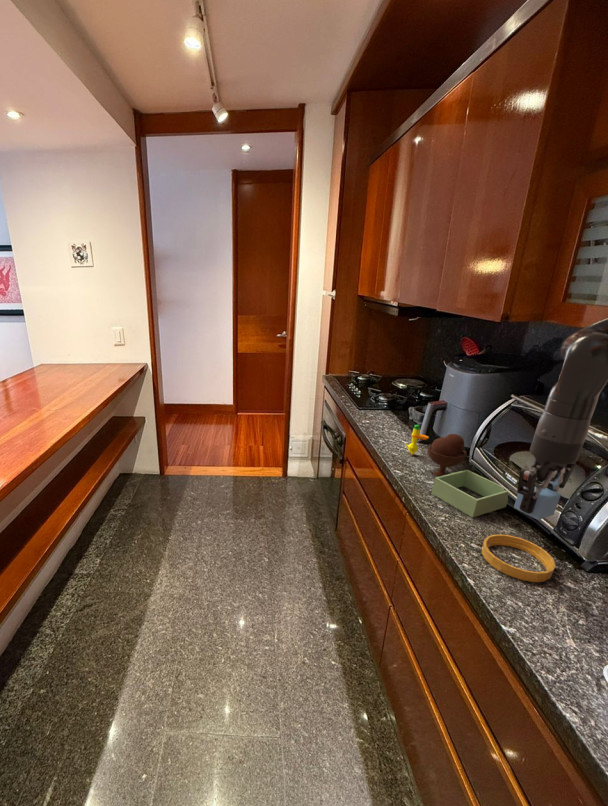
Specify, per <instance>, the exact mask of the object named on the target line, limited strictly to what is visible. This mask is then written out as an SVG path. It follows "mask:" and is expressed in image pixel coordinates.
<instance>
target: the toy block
mask: <svg viewBox="0 0 608 806" xmlns="http://www.w3.org/2000/svg"><path fill="white" fill-rule="evenodd" d="M535 490H536V487H535ZM535 490H534V492H535ZM523 496H524V495H522V494H520V493H518V492H517V496H516V499H515V502H514V505H513V509H515V510H517V511H519V512H522V513H523V514H525V515H527V516H529V517H530V518H533V519H536V520H537V521H540V520H542V519H545V518H549V517H551V516H554V515H555V512H556V509H557V507H558V505H559V500H560V499H561V496H562V494H561V493H560V492H555V491H552V490H550V489H548V488H546V489H545V490H542V491H541V493H540V494H539V496H538V498H537V501H536V504H535V507H534V509H533V512H532V513H530V514H528V513H526V512H524V511H522V510H520V505H521V502H522V499H523Z"/></svg>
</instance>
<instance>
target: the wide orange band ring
mask: <svg viewBox="0 0 608 806" xmlns="http://www.w3.org/2000/svg"><path fill="white" fill-rule="evenodd" d="M494 546H507V547H512V548H515V549H518V550H520V551H523V552H526V553H527V554H529V555H531V556H533V557H534V558H536V560H538V561H539V562H540V563H541V564H542V565H543V567H544V569H545V571H533V570H526V569H523V568H519V567H516V566H514V565H511V564H509V563H507V562H504V561H503V560H502V559H500V558H498V557H497V556H496V555H494V553H492V552H491V550H490V548H491V547H494ZM481 554H482V556H483V558H484V559H485V561H486V562H487V563H488V564H489V565H491V566H492V567H493V568H495V569H496V570H497V571H498V572H501V573H503V574H505V575H507V576H509V577H511V578H514V579H517V580H521V581H525V582H532V583H542V582H546V581H548V580H550V579H551V577H552V576H553V574H554V572H555V569H556V565H557V564H556V561H555V559H554V558H553V557H552V556H551V554H550V553H549V552H547V550H545V549H544V548H542V547H541V546H539V545H537V544H535V543H534V542H531V541H529V540H527V539H524V538H521V537H518V536H514V535H509V534H503V533H502V534H501V533H500V534H498V533H497V534H492V535H488V536H486V537H485V538H484V540H483V543H482V546H481Z"/></svg>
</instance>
